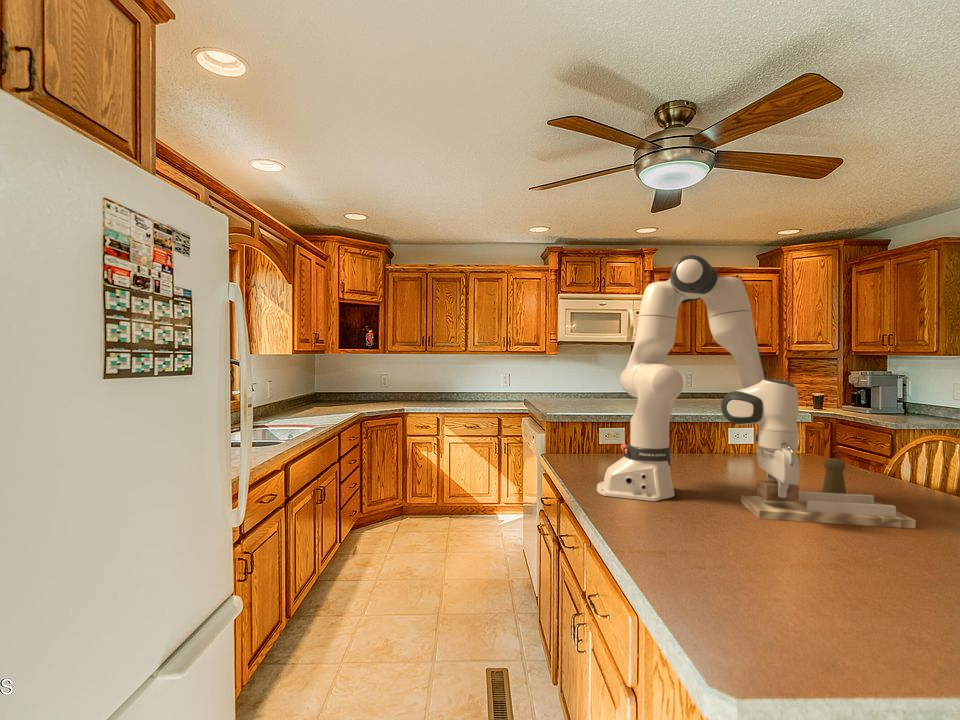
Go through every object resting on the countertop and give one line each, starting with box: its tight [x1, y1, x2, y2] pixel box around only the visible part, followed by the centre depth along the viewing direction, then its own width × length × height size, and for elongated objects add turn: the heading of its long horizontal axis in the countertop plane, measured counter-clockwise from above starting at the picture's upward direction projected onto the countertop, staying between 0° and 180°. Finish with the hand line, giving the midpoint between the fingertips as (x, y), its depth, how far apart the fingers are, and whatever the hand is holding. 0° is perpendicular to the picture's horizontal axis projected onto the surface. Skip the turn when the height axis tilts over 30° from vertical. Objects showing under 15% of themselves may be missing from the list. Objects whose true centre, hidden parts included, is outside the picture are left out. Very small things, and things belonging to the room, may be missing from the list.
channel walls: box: [799, 490, 897, 517], centre depth 125 cm, size 19×10×2 cm, turn 78°
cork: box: [821, 458, 847, 494], centre depth 143 cm, size 6×6×11 cm
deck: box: [740, 495, 917, 530], centre depth 126 cm, size 34×14×2 cm, turn 78°
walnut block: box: [756, 480, 800, 502], centre depth 127 cm, size 8×5×4 cm, turn 87°
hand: (776, 493), depth 127 cm, fingers closed on walnut block, 5 cm apart
